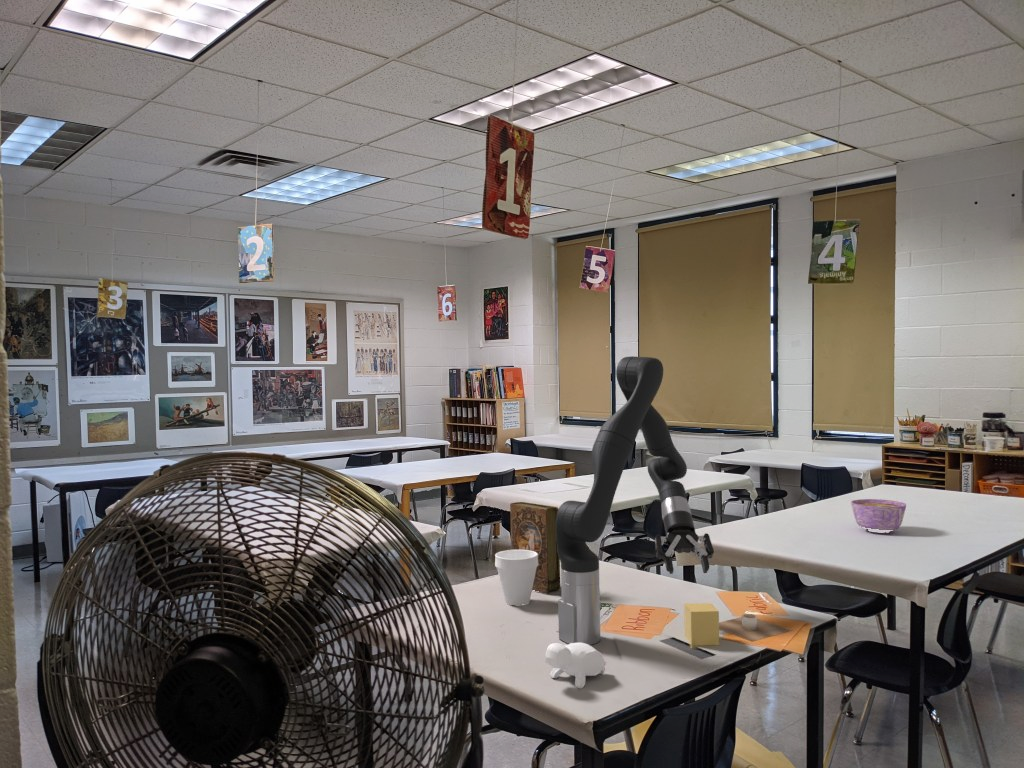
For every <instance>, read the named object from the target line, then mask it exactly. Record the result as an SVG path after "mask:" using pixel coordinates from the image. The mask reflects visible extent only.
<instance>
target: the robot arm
mask: <svg viewBox="0 0 1024 768" xmlns="http://www.w3.org/2000/svg"><path fill="white" fill-rule="evenodd" d="M615 373H616V376H615V377H616V381H617V383H618V384H617V385H618V386H619V388H620V390H621V392H622V394H623V396H624V398H625V400H626V403H624V405H623V406H622V407H620V408H619V409H618V410H617V411H616V412H614V414H612V415H611V416H610V417H609V418H607V420H606V421H605V422H604V423H603V425H601V427H600V429H599V431H598V434H597V435H596V438H595V440H594V443H593V445H592V449H591V464H592V470H593V471H592V472H593V483H592V487H591V490H590V492H589V495H588V496H587V497H588V498H587V500H586V502H585V501H579V500H566V501H564V502H563V503H562V504H561V505H560V506H559V507H558V512H557V516H556V538H557V552H558V557H559V559H560V589H561V594H560V595H561V599H558V600H557V601H558V602H557V606H558V607H557V609H558V610H557V613H558V639H559V640H561V641H563V642H565V643H567V645H568V644H570V643H585V644H588V645H590V646H591V645H594V644H598V643H599V642H600V641H601V597H600V594H601V593H600V559H599V556H598V555H597V554H596V553H595V552H593V550H592V549H590V548H589V546H588V544H587V543H594V542H596V541H598V540H599V538H601V536H602V535H603V532H604V531H605V528H606V526H607V523H608V520H609V515H610V513H611V509H612V504H613V501H614V497H615V495H616V492H617V488H618V486H619V483H620V480H621V477H622V476H623V472H624V469H625V467H626V464H627V463H628V461H629V458H630V456H631V453H632V450H633V448H634V445H635V441H636V439H637V436H638V433H639V431H640V430H641V432H642V433H641V434H642V435H643V439H644V442H645V445H646V448H647V451H648V454H650V455H651V456H653V457H657V458H653V459H651V460H650V461H649V462H648V464H647V473H648V475H649V477H650V479H651V480H652V482H653V484H654V485H655V487H656V489H657V493H658V495H659V496H658V497H659V500H660V504H661V505H660V506H661V518H662V522H663V525H664V531H665V536H662V535H661V534H659V533H658V534H656V535H655V538H654V546H655V554H656V555H655V556H656V559H657V560H663V561H664V564H665V569H666V571H667V572H669V573H668V574H670V575H673V573H674V571H675V570H674V565H673V560H672V557H673V555H674V554H675V552H676V553H677V554H682V553H686V554H690V553H692V554H693V555H694V556H697V557H698V558H699V559H700V564H701V567H702V572H703V574H707V573H708V571H709V570H710V563H709V559H713V557H714V556H713V555H714V553H715V550H714V546H713V544H712V540H711V537H710V534H709V533H704V534H703V535H698V534H697V533H696V529H695V525H694V519H693V516H692V512H691V511H692V510H691V507H690V504H689V502H688V497H687V494H686V490H685V486H684V484H683V483H681V482H680V481H678V480H680V479H683V478H685V476H686V475H687V473H688V472H687V471H688V469H687V468H688V465H687V463H686V461H685V460H684V457H683V456H682V455H681V453H680V452H679V451H678V450H677V448H676V446H675V444H674V442H673V439H672V436H671V433H670V428H669V426H668V424H667V422H666V421H665V418H664V417H663V416H662V415H661V414H660V412H659V411H658V409H656V408H655V407H654V406H653V404H652V403H653V401H654V399H655V398H656V396H657V393H658V392H659V389H660V388H661V384H662V381H663V378H664V366H663V363H662V361H661V360H660V359H659V358H656V357H651V356H624V357H623V358H621V359H620V360H619V362H618V363H617V366H616V369H615ZM698 542H700V543H701V545H703V546H704V548H703V547H702V546H701V545H700V544H699V543H698ZM664 543H666V544H667V545H668V546H669V547H668V549H667V550H666V552H664V551H663V545H664Z"/></svg>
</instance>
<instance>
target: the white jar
mask: <svg viewBox="0 0 1024 768" xmlns="http://www.w3.org/2000/svg"><path fill="white" fill-rule="evenodd" d="M741 617H742V628H743V629H746V630H756V629H757V619H758V616H757V615H755V614H752V613H745V614H742V615H741Z"/></svg>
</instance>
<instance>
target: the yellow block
mask: <svg viewBox="0 0 1024 768" xmlns="http://www.w3.org/2000/svg"><path fill="white" fill-rule="evenodd" d="M683 606H684V611H683V612H684V637H685V638H686V640H687V641H688V642H687V643H688V644H689V646H690V647H691V648H692V649H702V648H700V647H698V646H720V630H719V622H720V616H719V615H720V613H719V612H720V611H719V610H718V608H716V607H715V605H713V603H711V602H706V603H705V602H700V603H699V602H698V603H695V602H694V603H684V605H683Z"/></svg>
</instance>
